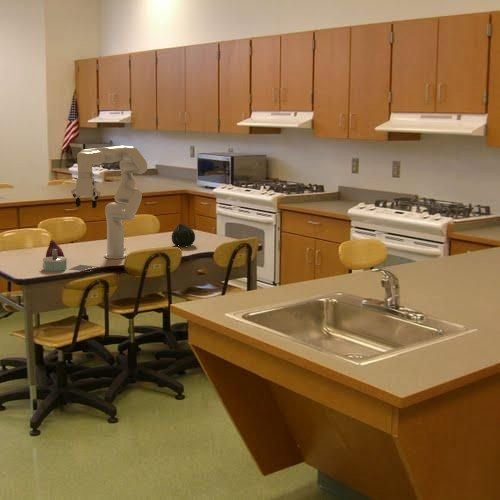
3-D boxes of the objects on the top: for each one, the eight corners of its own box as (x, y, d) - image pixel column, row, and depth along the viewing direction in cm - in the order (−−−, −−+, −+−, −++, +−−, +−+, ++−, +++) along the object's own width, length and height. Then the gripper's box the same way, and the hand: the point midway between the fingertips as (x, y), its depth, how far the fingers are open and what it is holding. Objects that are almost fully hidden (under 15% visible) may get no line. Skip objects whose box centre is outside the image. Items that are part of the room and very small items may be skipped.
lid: (51, 257, 392) (51, 246, 391) (71, 259, 388) (70, 248, 387) (38, 261, 380) (38, 250, 379) (58, 263, 377) (58, 252, 376)
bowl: (51, 266, 392) (51, 257, 391) (69, 268, 389) (69, 259, 388) (40, 270, 382) (40, 261, 381) (58, 272, 379) (58, 263, 378)
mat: (80, 265, 397) (80, 264, 397) (100, 267, 393) (100, 266, 393) (68, 270, 385) (68, 269, 385) (89, 272, 382) (89, 271, 382)
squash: (202, 237, 462) (189, 218, 463) (191, 241, 448) (177, 222, 450) (188, 249, 468) (174, 231, 470) (176, 254, 455) (162, 235, 456)
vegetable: (55, 270, 397) (52, 246, 390) (42, 265, 402) (38, 241, 395) (69, 263, 404) (66, 239, 397) (56, 258, 409) (53, 234, 402)
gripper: (103, 175, 388) (104, 207, 392) (74, 173, 393) (75, 204, 397) (96, 177, 381) (97, 209, 385) (67, 175, 386) (68, 207, 390)
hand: (86, 207), depth 391 cm, fingers open, 9 cm apart
